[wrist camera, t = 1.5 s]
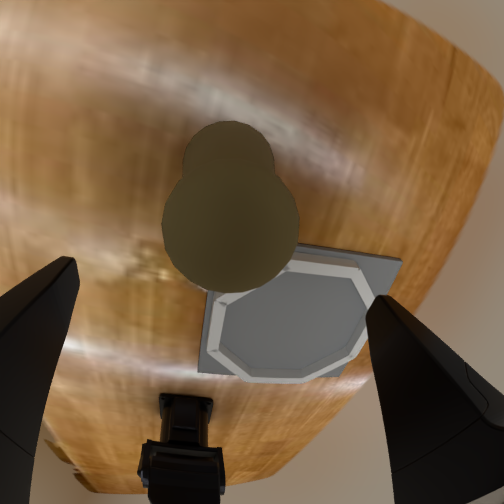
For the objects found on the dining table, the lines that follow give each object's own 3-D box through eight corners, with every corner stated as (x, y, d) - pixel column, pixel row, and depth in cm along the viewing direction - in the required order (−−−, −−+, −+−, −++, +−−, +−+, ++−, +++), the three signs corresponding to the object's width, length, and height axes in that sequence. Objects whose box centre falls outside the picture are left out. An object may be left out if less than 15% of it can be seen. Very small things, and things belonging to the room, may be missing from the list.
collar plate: (337, 373, 32) (341, 384, 31) (197, 368, 30) (197, 381, 28) (400, 258, 25) (409, 269, 23) (216, 231, 22) (216, 243, 20)
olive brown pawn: (289, 145, 19) (353, 209, 10) (249, 220, 22) (268, 334, 12) (205, 106, 17) (180, 127, 8) (169, 187, 20) (123, 286, 10)
